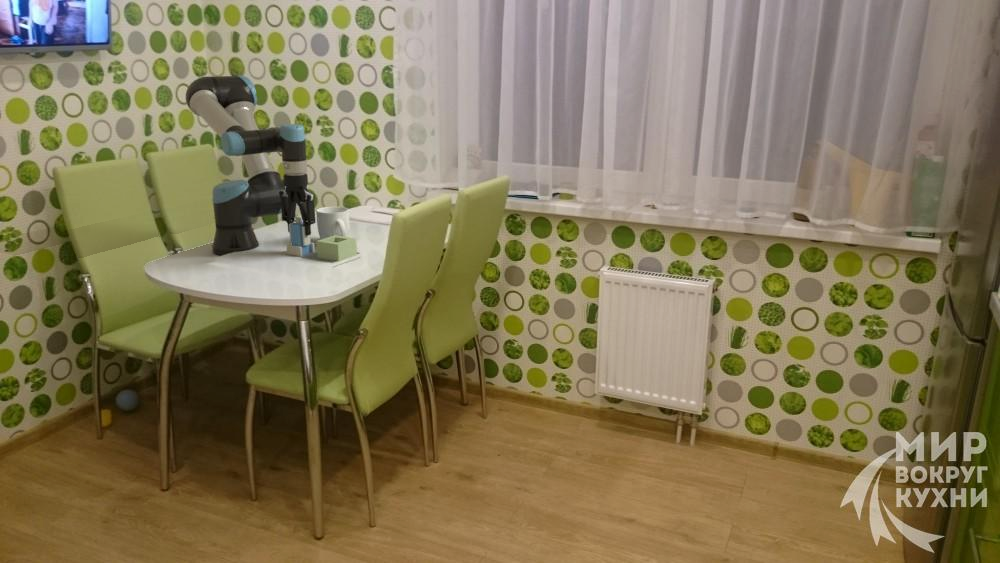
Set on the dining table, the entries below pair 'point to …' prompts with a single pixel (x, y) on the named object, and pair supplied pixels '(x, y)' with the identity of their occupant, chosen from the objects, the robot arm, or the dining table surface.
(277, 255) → the dining table surface
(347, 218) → the mug
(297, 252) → the panel
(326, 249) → the port
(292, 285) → the dining table surface
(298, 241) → the plug
